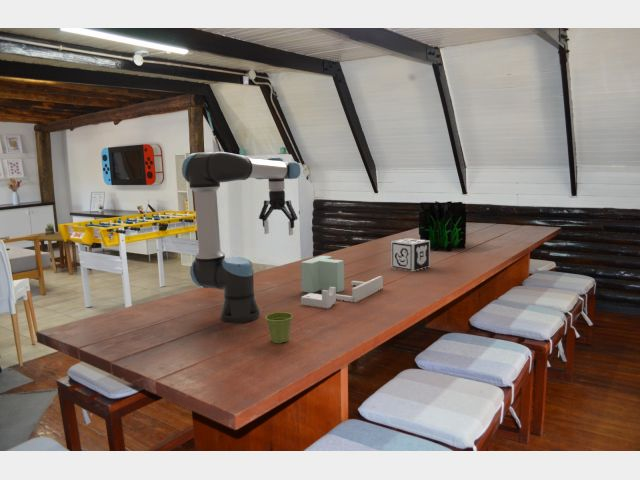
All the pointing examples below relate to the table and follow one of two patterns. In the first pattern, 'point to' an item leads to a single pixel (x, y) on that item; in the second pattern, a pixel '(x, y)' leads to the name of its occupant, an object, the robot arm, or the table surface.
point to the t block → (322, 274)
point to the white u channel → (362, 289)
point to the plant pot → (279, 326)
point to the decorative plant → (443, 225)
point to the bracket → (320, 298)
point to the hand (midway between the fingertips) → (278, 234)
